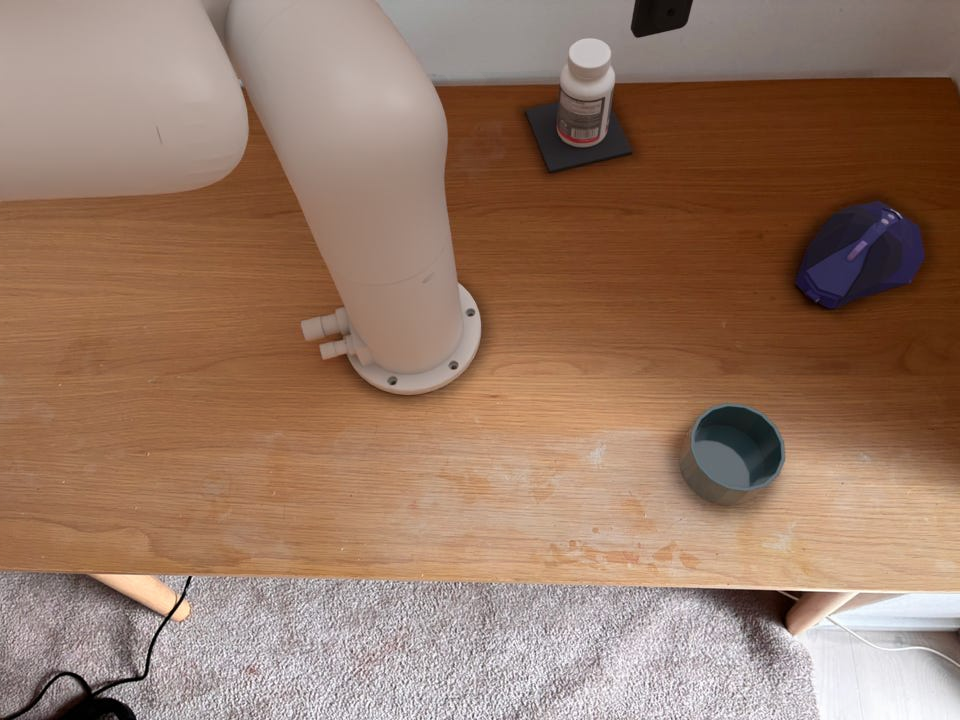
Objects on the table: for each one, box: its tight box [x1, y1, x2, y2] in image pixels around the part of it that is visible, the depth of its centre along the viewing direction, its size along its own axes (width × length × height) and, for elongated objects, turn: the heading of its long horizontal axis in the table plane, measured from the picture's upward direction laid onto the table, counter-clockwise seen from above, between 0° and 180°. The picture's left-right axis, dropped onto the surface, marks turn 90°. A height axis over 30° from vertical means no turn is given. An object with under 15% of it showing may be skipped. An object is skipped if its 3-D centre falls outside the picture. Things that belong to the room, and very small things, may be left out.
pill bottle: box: [557, 37, 616, 147], centre depth 68 cm, size 5×5×10 cm
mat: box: [524, 101, 634, 174], centre depth 73 cm, size 9×9×1 cm
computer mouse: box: [795, 200, 926, 310], centre depth 63 cm, size 9×15×4 cm, turn 132°
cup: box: [678, 402, 786, 507], centre depth 54 cm, size 7×7×4 cm
